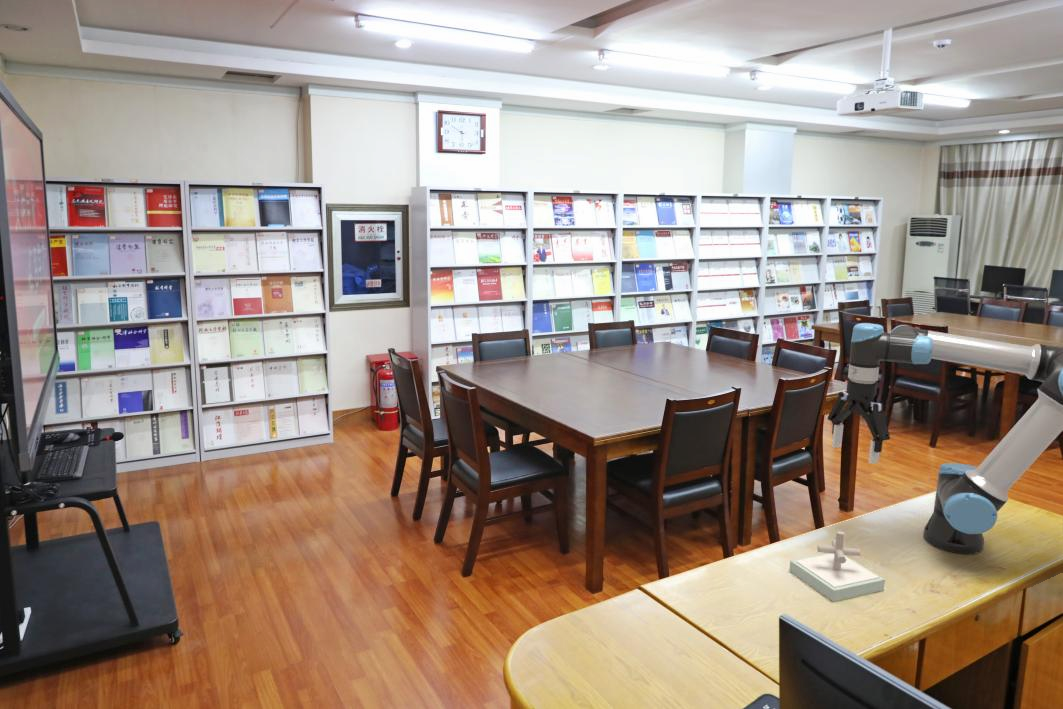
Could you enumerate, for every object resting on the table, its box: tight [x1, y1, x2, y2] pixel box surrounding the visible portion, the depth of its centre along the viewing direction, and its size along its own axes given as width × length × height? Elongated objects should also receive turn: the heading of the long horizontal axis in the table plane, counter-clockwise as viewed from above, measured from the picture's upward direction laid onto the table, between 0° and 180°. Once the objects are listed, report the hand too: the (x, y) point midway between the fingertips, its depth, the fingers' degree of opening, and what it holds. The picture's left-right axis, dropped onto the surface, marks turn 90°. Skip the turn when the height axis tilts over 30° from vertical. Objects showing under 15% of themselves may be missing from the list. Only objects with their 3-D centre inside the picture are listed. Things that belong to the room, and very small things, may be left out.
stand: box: [788, 553, 886, 603], centre depth 191 cm, size 16×16×3 cm
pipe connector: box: [817, 530, 861, 571], centre depth 190 cm, size 10×10×10 cm
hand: (854, 454), depth 207 cm, fingers open, 13 cm apart
